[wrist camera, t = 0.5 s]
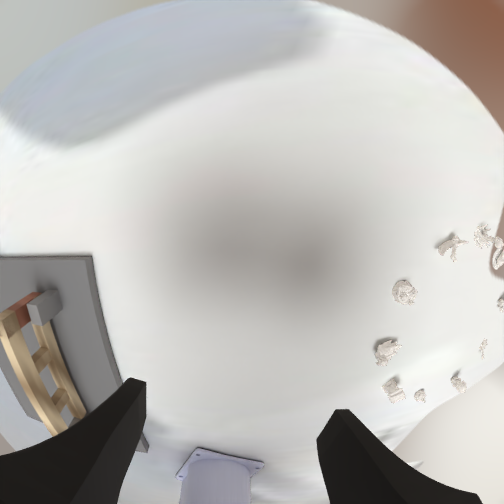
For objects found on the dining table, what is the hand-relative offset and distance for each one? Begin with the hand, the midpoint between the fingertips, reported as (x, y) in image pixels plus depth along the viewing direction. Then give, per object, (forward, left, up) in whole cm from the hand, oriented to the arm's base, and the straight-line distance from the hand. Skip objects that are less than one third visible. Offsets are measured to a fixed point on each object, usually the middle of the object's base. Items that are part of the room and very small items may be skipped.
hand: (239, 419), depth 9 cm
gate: (-13, +12, -9) cm, 19 cm away
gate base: (-15, +15, -10) cm, 24 cm away
